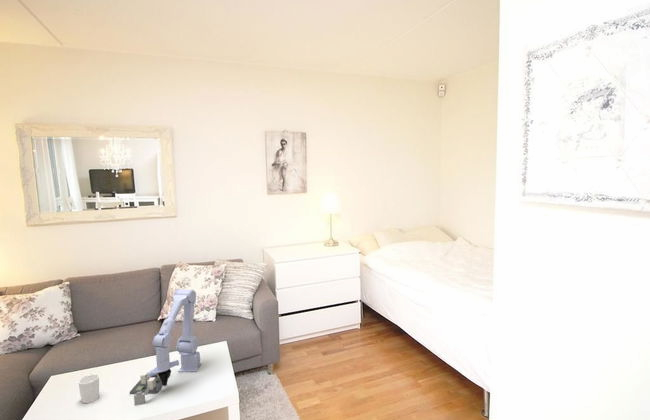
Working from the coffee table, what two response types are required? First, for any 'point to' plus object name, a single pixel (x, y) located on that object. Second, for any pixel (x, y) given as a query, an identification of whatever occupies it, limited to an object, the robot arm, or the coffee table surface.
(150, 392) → the switch unit
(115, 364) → the coffee table surface
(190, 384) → the coffee table surface
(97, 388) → the white cup
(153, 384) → the switch
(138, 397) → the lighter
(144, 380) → the switch
